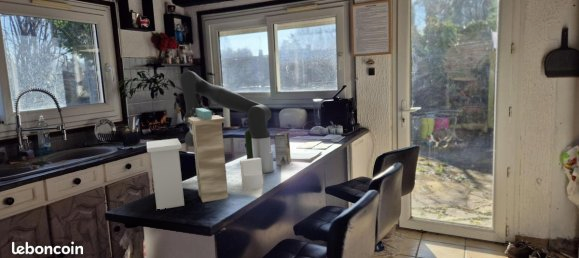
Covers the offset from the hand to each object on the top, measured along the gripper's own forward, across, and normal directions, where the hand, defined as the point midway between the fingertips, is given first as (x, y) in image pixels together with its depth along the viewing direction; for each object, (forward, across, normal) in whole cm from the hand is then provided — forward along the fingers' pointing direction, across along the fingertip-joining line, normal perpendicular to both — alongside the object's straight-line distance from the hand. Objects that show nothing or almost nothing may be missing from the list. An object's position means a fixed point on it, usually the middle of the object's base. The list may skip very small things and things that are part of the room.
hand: (200, 109), depth 168 cm
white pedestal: (-6, -17, +37) cm, 41 cm away
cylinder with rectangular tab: (-10, +18, +34) cm, 40 cm away
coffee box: (-41, +45, +16) cm, 63 cm away
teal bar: (+5, 0, +6) cm, 8 cm away
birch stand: (-6, 0, +37) cm, 37 cm away
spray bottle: (-59, +35, +6) cm, 69 cm away
